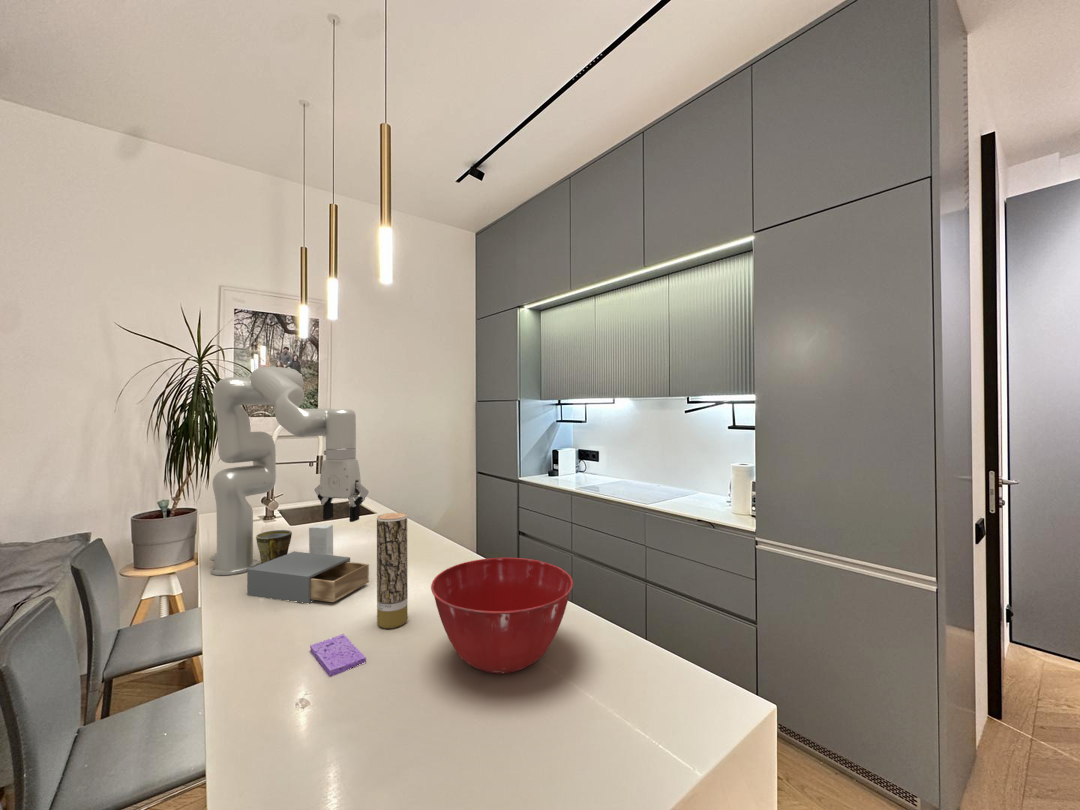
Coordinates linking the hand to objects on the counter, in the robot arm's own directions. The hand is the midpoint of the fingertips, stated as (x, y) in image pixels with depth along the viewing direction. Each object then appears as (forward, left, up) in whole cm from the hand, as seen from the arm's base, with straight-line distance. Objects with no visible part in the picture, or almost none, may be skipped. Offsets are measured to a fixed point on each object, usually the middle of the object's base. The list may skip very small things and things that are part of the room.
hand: (341, 519), depth 127 cm
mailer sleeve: (-14, 0, -20) cm, 24 cm away
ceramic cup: (-36, +12, -20) cm, 43 cm away
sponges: (+21, -27, -21) cm, 40 cm away
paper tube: (+23, -11, -20) cm, 33 cm away
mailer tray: (-6, 0, -19) cm, 20 cm away
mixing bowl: (+53, -17, -20) cm, 60 cm away
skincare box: (-24, +19, -20) cm, 36 cm away
